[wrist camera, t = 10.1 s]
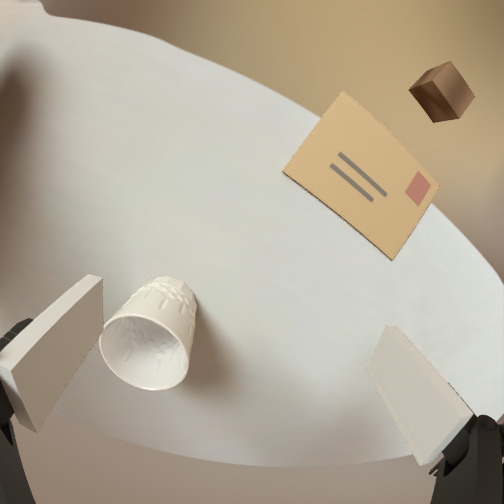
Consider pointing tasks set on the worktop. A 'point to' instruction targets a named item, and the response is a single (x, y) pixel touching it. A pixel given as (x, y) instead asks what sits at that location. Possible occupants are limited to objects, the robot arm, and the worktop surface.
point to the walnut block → (442, 93)
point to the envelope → (363, 174)
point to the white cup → (152, 335)
